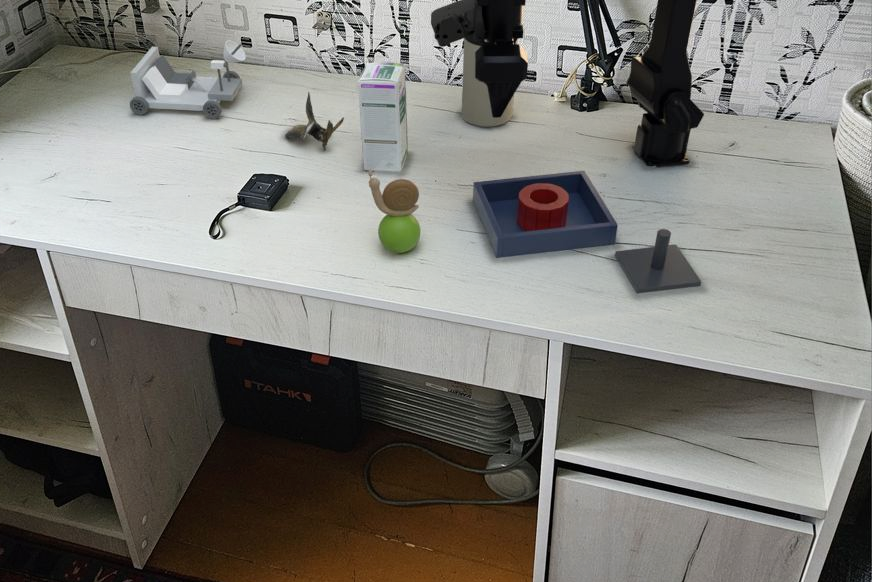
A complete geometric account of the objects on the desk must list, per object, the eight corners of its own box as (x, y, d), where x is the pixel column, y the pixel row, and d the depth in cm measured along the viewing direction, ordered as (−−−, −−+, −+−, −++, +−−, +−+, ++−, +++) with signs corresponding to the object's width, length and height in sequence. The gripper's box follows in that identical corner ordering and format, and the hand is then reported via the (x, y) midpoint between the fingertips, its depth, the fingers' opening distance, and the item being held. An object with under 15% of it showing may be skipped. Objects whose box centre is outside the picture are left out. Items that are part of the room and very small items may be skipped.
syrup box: (401, 174, 137) (400, 80, 127) (361, 171, 138) (357, 78, 128) (408, 154, 141) (407, 62, 131) (369, 151, 142) (365, 60, 132)
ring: (557, 205, 128) (560, 180, 126) (572, 232, 123) (575, 207, 121) (511, 211, 128) (512, 185, 125) (523, 238, 123) (526, 212, 120)
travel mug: (514, 127, 146) (522, 13, 134) (463, 129, 146) (467, 15, 134) (509, 103, 152) (516, -7, 140) (460, 105, 152) (463, -6, 140)
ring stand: (674, 250, 120) (683, 210, 116) (700, 288, 114) (709, 247, 110) (614, 257, 119) (620, 217, 116) (636, 295, 113) (644, 255, 110)
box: (581, 191, 131) (584, 170, 129) (614, 246, 121) (618, 224, 119) (472, 203, 130) (473, 182, 128) (496, 260, 120) (497, 238, 118)
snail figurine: (369, 239, 124) (366, 159, 116) (417, 235, 125) (417, 155, 117) (373, 263, 120) (369, 182, 112) (423, 259, 121) (423, 178, 113)
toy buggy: (249, 32, 153) (229, 62, 144) (256, 88, 159) (237, 120, 151) (145, 27, 156) (118, 57, 147) (155, 83, 162) (131, 114, 153)
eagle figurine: (354, 131, 144) (317, 102, 148) (337, 107, 138) (299, 77, 142) (320, 168, 144) (284, 138, 148) (301, 145, 138) (264, 115, 142)
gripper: (435, -44, 121) (434, 69, 132) (433, 13, 107) (433, 135, 118) (522, -46, 121) (515, 69, 131) (532, 11, 107) (523, 135, 117)
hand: (495, 100), depth 124 cm, fingers open, 9 cm apart
